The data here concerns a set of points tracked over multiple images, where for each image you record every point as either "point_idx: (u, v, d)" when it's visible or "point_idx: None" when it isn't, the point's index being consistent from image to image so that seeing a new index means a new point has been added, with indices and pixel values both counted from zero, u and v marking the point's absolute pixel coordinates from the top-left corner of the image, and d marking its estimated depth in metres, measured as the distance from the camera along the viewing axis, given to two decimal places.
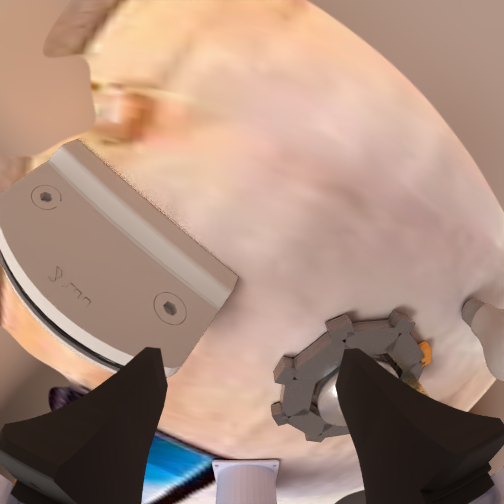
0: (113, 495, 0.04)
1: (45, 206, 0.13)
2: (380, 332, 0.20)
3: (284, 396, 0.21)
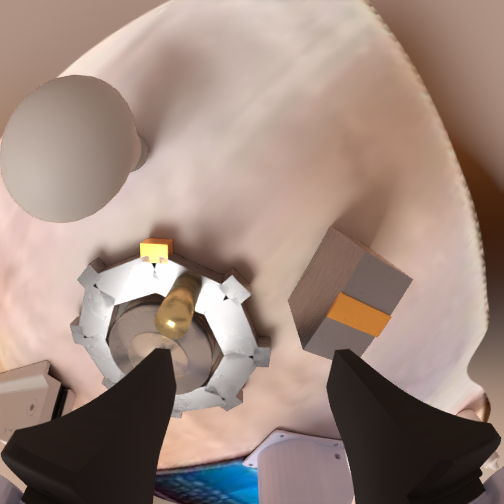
0: (127, 499, 0.04)
1: None
2: (85, 304, 0.18)
3: None
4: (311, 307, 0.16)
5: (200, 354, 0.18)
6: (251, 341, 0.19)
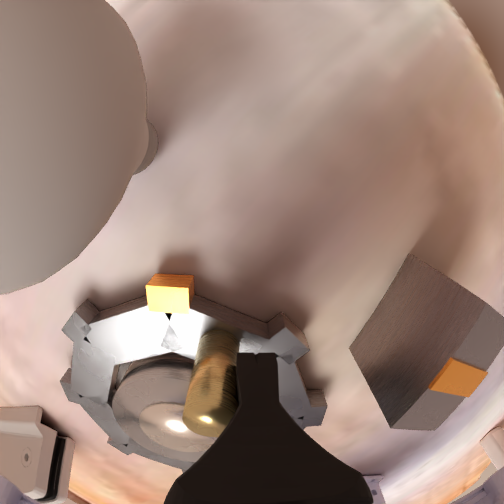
0: None
1: None
2: (76, 360, 0.12)
3: (152, 459, 0.15)
4: (397, 369, 0.10)
5: None
6: (303, 402, 0.13)
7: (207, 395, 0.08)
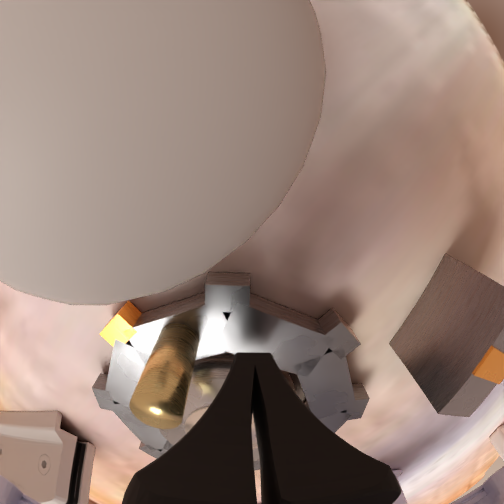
0: None
1: (1, 456, 0.13)
2: (128, 423, 0.14)
3: None
4: (441, 360, 0.10)
5: None
6: (309, 335, 0.12)
7: (135, 389, 0.08)
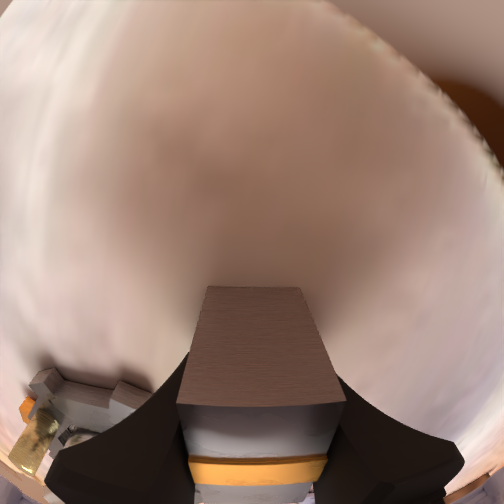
0: None
1: None
2: None
3: (195, 503, 0.14)
4: None
5: None
6: (99, 410, 0.11)
7: None
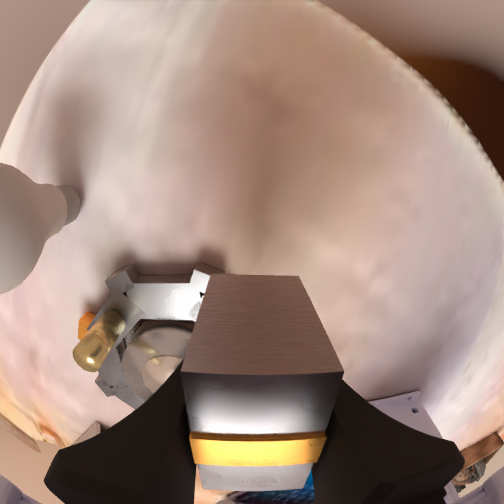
0: None
1: None
2: (128, 402, 0.19)
3: None
4: None
5: None
6: (179, 287, 0.16)
7: None
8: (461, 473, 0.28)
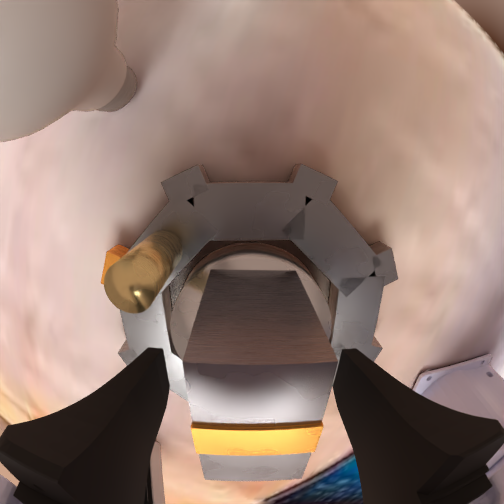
0: (117, 496, 0.04)
1: None
2: None
3: None
4: None
5: (310, 300, 0.12)
6: (277, 189, 0.12)
7: None
8: None
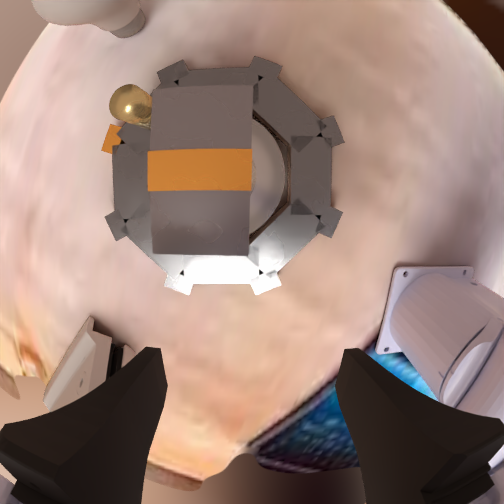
0: (113, 495, 0.04)
1: None
2: (143, 246, 0.17)
3: (291, 256, 0.18)
4: None
5: (263, 143, 0.15)
6: (238, 71, 0.14)
7: None
8: None
